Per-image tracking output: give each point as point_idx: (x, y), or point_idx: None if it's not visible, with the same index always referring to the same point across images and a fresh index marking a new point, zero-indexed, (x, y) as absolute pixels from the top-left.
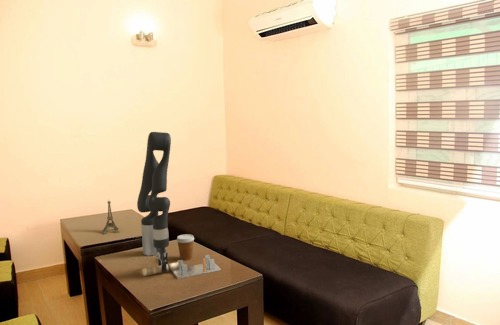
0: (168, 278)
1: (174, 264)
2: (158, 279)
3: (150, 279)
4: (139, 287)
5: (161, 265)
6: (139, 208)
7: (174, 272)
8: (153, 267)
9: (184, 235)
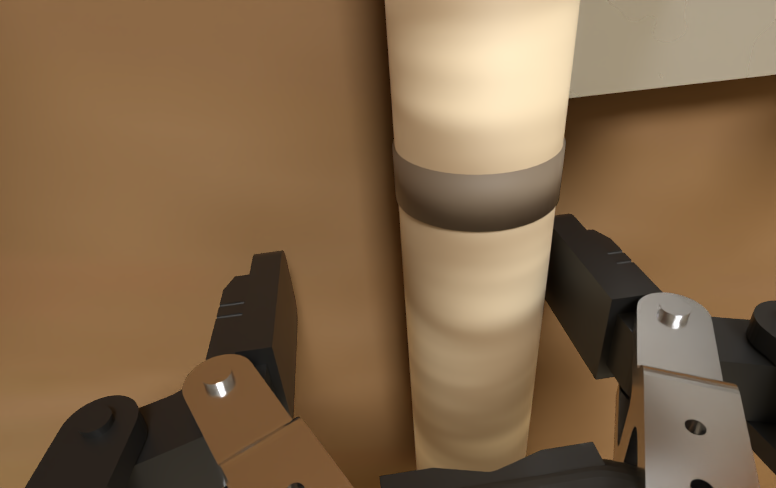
0: (761, 187)
1: (560, 46)
2: None
3: (615, 390)
4: None
5: (492, 342)
6: None
7: (716, 71)
8: (504, 448)
9: None
